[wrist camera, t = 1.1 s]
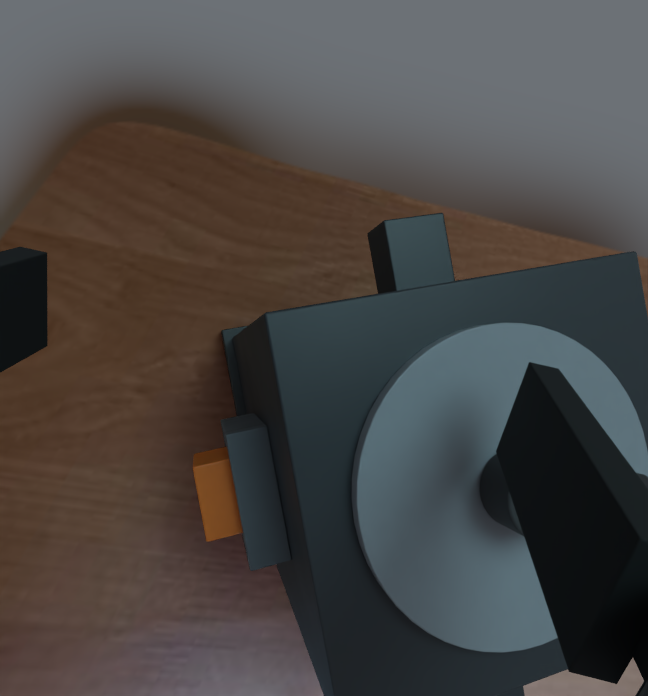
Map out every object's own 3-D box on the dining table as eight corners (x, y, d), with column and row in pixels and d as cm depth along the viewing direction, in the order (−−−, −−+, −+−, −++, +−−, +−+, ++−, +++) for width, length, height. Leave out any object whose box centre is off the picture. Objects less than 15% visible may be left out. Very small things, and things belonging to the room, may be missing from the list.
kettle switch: (193, 453, 23) (192, 466, 20) (234, 444, 24) (238, 456, 21) (205, 520, 23) (206, 542, 20) (246, 510, 24) (252, 531, 21)
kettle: (195, 297, 32) (186, 199, 12) (425, 261, 35) (694, 141, 16) (254, 614, 32) (334, 993, 13) (476, 548, 35) (800, 770, 16)
